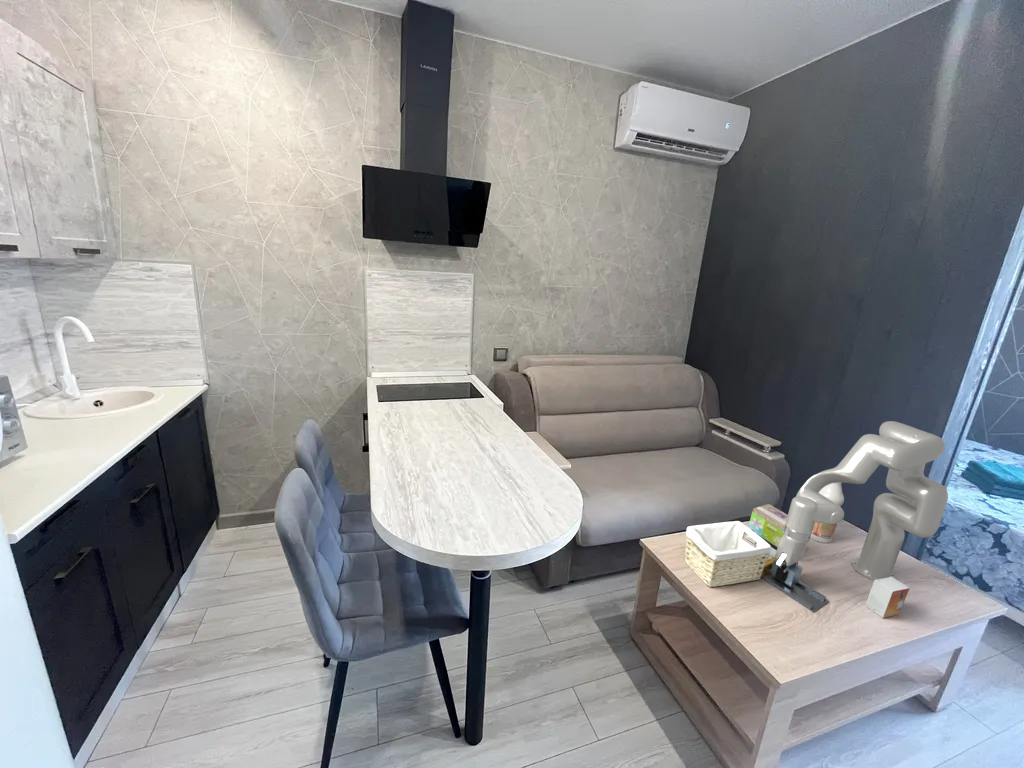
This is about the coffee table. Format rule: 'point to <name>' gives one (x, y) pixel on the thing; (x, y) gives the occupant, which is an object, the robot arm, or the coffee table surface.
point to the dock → (795, 590)
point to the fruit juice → (827, 530)
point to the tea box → (768, 525)
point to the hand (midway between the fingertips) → (784, 576)
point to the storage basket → (725, 553)
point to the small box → (887, 597)
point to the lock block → (792, 574)
